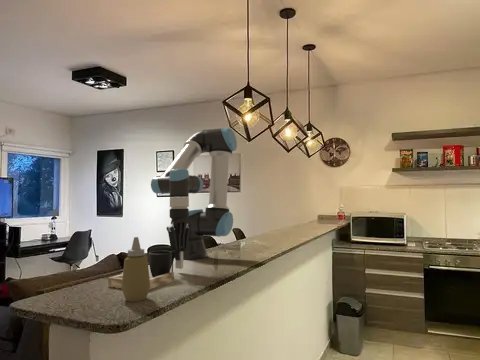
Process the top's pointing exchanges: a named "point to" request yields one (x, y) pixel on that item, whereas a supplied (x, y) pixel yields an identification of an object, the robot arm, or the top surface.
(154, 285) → the tray
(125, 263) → the squeeze bottle
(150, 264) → the mug
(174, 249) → the robot arm
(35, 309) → the top surface
